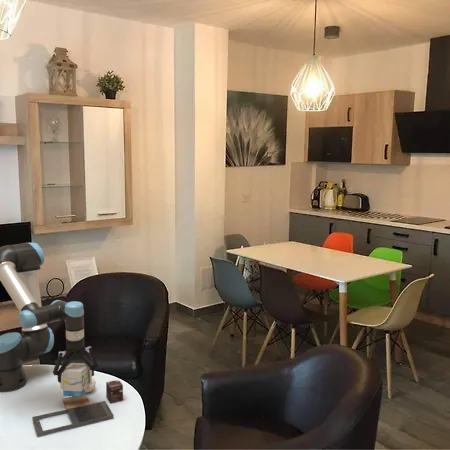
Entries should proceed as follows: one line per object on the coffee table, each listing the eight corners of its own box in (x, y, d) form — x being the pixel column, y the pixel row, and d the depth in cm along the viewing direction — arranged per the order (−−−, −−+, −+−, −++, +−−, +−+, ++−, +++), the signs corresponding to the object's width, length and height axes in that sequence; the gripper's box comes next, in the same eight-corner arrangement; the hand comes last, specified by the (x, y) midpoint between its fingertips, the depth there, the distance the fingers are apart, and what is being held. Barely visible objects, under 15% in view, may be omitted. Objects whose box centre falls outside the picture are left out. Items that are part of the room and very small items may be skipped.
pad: (62, 400, 222) (62, 398, 222) (85, 395, 226) (85, 393, 226) (67, 411, 213) (67, 409, 213) (90, 406, 218) (90, 404, 218)
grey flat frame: (37, 436, 195) (37, 433, 194) (32, 420, 206) (32, 416, 206) (113, 418, 209) (113, 414, 209) (105, 403, 220) (105, 400, 220)
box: (109, 403, 221) (109, 387, 220) (106, 397, 226) (105, 382, 225) (123, 400, 224) (123, 385, 222) (119, 394, 229) (119, 379, 228)
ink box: (81, 397, 214) (80, 371, 212) (62, 396, 215) (61, 370, 213) (90, 388, 222) (89, 363, 221) (72, 387, 223) (70, 362, 222)
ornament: (97, 393, 229) (88, 383, 224) (83, 397, 231) (74, 387, 226) (100, 379, 234) (91, 370, 230) (86, 383, 236) (77, 374, 231)
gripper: (47, 346, 206) (49, 395, 209) (105, 336, 217) (105, 383, 221) (44, 339, 212) (46, 388, 216) (100, 330, 224) (101, 376, 227)
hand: (76, 386), depth 218 cm, fingers closed on ink box, 11 cm apart
